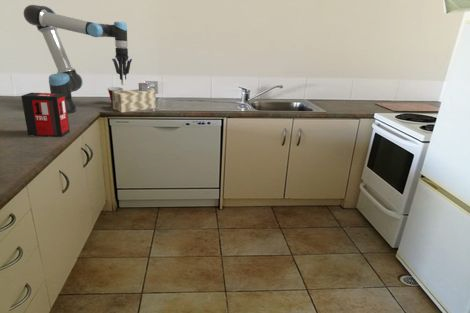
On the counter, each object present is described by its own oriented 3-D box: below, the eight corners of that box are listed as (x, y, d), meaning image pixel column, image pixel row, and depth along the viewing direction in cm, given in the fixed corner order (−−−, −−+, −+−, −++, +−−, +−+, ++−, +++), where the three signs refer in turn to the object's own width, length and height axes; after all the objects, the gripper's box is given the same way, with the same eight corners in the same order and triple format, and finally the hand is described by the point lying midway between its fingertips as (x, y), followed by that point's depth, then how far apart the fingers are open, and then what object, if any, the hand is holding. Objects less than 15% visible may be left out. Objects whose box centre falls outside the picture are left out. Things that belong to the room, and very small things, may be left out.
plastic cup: (114, 107, 235) (113, 89, 231) (105, 104, 241) (104, 87, 237) (127, 105, 243) (126, 88, 239) (118, 102, 249) (117, 86, 245)
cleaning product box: (28, 135, 166) (21, 95, 159) (37, 130, 175) (31, 92, 168) (62, 137, 167) (56, 97, 160) (69, 132, 175) (64, 93, 168)
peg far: (142, 97, 233) (141, 83, 229) (139, 96, 235) (138, 83, 232) (147, 96, 235) (147, 83, 232) (144, 95, 238) (144, 82, 235)
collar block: (121, 112, 221) (120, 94, 217) (113, 109, 229) (111, 91, 225) (155, 108, 238) (155, 91, 234) (147, 105, 246) (146, 88, 242)
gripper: (114, 47, 208) (116, 86, 216) (133, 48, 217) (135, 84, 225) (109, 46, 213) (111, 84, 221) (128, 47, 222) (129, 83, 230)
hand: (123, 84), depth 223 cm, fingers closed
